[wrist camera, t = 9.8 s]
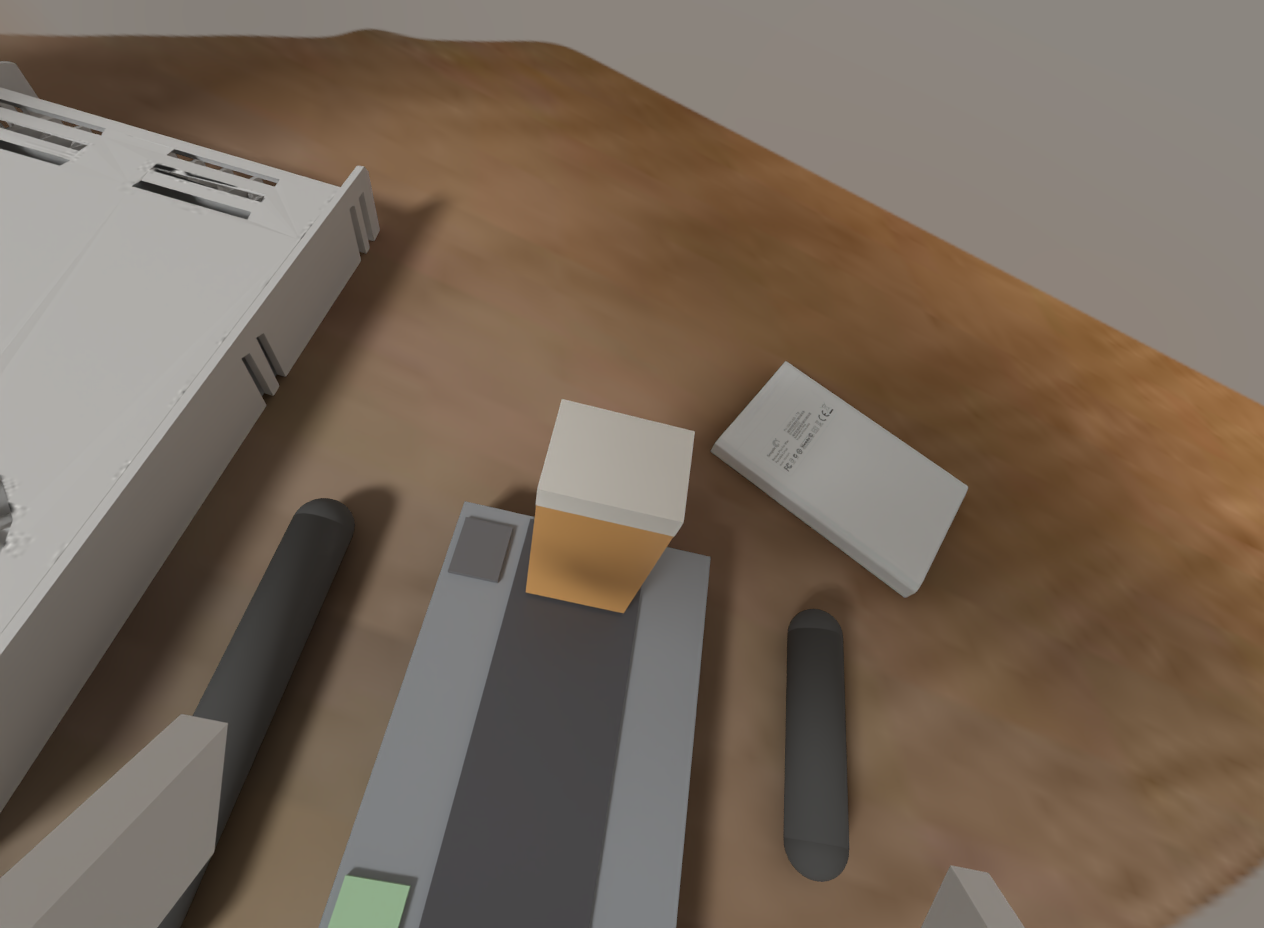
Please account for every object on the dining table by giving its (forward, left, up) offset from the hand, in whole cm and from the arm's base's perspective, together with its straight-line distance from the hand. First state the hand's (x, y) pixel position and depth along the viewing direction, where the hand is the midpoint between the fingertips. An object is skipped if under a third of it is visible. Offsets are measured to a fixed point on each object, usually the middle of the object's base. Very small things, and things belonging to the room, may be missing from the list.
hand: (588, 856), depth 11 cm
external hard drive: (-10, +20, -14) cm, 27 cm away
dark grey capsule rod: (+1, +12, -14) cm, 18 cm away
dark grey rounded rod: (-8, -9, -14) cm, 18 cm away
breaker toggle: (-8, +4, -11) cm, 14 cm away
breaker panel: (-2, +1, -14) cm, 14 cm away
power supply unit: (-24, -17, -14) cm, 33 cm away
